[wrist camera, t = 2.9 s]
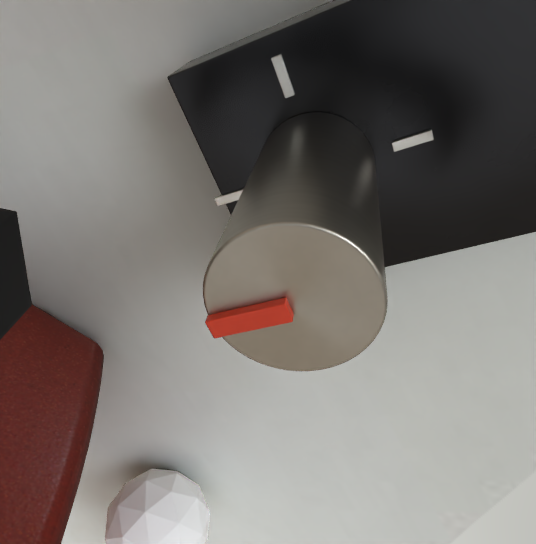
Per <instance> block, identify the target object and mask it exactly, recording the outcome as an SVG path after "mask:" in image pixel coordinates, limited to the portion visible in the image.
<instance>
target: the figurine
mask: <svg viewBox="0 0 536 544" xmlns="http://www.w3.org/2000/svg"><path fill="white" fill-rule="evenodd" d="M209 518H210V510H209V508H208V505H207V503H206V500H205V498H204V496H203V493H202V491H201V489H200V486H199V485H198V484H197V483H195V482H194V481H192V480H190V479H189V478H187V477H186V476H184V475H183V474H181V473H179V472H178V471H172V470H161V469H150V470H148V471H146V472H144V473H142V474H141V475H139V476H137V477H135V478H133V479H132V480H130V481H128V482H126V483H125V485H124V486H123V487H122V489H121V490H120V491H119V493H118V494H117V496H116V497H115V498H114V500H113V501H112V502H111V504H110V505H109V507H108V513H107V524H106V534H105V541H106V544H206V542H207V541H208V531H209Z"/></svg>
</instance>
